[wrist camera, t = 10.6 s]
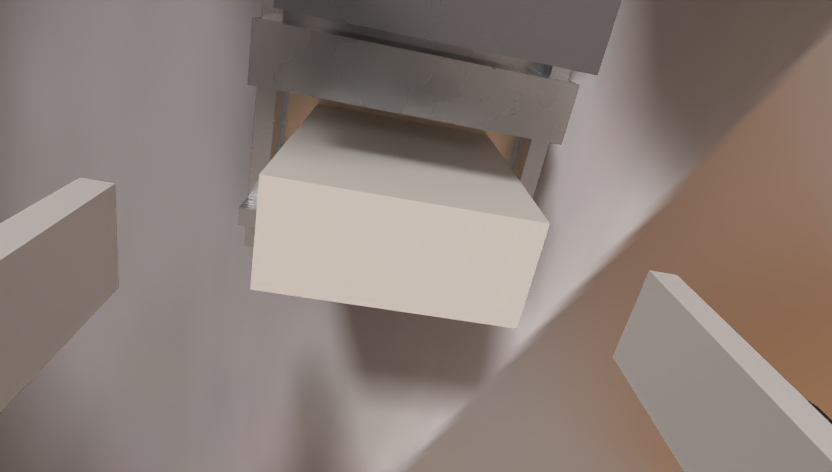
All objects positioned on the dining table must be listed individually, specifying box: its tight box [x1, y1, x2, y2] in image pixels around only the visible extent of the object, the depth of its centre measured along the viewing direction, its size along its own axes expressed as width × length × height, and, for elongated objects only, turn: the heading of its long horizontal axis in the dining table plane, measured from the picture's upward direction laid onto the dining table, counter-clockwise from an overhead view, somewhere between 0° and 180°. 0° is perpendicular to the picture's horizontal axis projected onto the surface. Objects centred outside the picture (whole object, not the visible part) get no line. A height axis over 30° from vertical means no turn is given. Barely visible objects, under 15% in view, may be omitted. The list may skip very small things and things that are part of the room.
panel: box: [250, 104, 550, 329], centre depth 20 cm, size 8×4×11 cm, turn 79°
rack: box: [238, 0, 621, 247], centre depth 19 cm, size 13×16×12 cm
